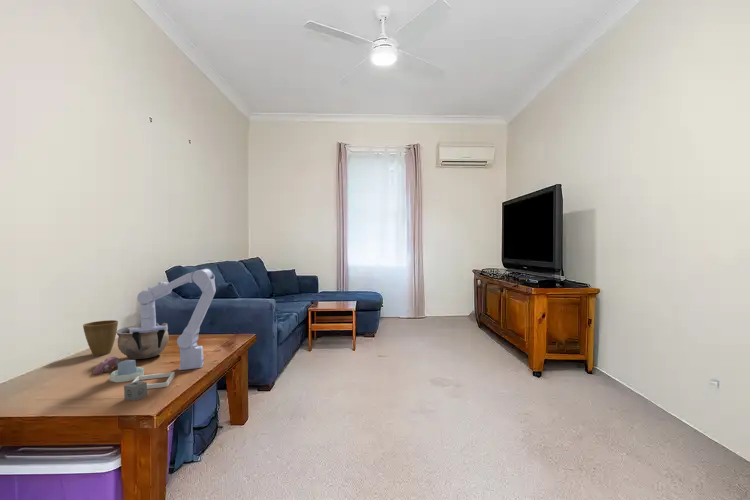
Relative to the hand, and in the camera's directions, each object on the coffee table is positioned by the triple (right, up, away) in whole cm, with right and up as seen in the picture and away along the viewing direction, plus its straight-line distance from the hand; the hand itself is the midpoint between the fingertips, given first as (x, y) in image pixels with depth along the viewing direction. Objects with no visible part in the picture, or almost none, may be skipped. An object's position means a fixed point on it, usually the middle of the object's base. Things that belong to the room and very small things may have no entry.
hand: (149, 348), depth 177 cm
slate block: (-4, -9, -9) cm, 14 cm away
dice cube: (+13, -10, -32) cm, 36 cm away
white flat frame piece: (+11, -10, -18) cm, 23 cm away
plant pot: (-41, -10, +30) cm, 52 cm away
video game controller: (-19, -10, +1) cm, 22 cm away
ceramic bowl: (-14, -10, +20) cm, 26 cm away
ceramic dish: (-4, -10, -9) cm, 14 cm away
